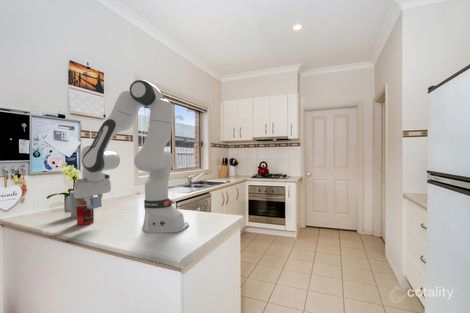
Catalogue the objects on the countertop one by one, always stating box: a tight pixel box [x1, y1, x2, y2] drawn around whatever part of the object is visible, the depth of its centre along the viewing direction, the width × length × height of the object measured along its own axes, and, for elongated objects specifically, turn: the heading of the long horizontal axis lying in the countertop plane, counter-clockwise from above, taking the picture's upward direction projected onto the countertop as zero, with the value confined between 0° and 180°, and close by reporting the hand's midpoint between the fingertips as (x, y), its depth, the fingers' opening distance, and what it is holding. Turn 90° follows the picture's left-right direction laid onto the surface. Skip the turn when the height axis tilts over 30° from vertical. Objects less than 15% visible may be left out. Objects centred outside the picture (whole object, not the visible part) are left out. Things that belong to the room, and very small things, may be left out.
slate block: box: [87, 196, 102, 209], centre depth 118 cm, size 4×4×5 cm
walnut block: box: [76, 196, 94, 205], centre depth 123 cm, size 6×6×5 cm
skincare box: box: [69, 190, 77, 219], centre depth 140 cm, size 8×7×16 cm
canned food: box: [76, 204, 95, 226], centre depth 123 cm, size 8×8×11 cm
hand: (94, 204), depth 118 cm, fingers closed on slate block, 4 cm apart
